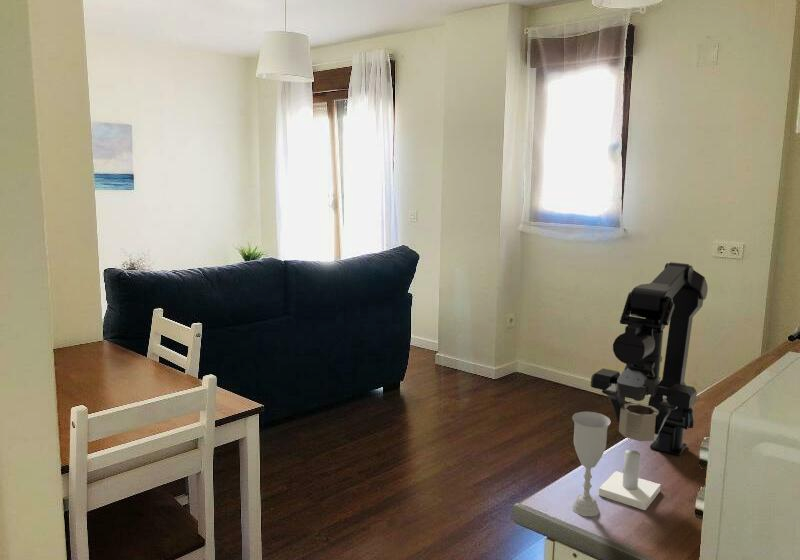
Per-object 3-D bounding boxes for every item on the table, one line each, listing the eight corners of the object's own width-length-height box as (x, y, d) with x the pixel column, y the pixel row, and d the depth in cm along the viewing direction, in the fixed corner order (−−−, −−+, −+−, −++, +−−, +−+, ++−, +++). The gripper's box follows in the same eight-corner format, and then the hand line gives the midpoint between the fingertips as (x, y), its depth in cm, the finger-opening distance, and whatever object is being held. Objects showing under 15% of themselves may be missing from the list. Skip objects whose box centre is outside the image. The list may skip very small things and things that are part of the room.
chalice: (606, 521, 118) (613, 428, 114) (567, 517, 119) (573, 425, 116) (602, 501, 125) (608, 413, 121) (566, 497, 126) (571, 410, 123)
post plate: (615, 477, 134) (617, 439, 132) (659, 491, 128) (663, 451, 127) (598, 495, 127) (601, 454, 125) (645, 510, 121) (648, 468, 120)
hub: (626, 424, 132) (628, 401, 131) (661, 433, 128) (663, 409, 127) (615, 434, 127) (616, 410, 126) (650, 444, 123) (652, 419, 122)
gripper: (582, 352, 124) (577, 429, 127) (684, 372, 113) (676, 456, 115) (603, 340, 133) (598, 413, 135) (701, 358, 121) (693, 436, 124)
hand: (638, 429), depth 127 cm, fingers closed on hub, 7 cm apart
